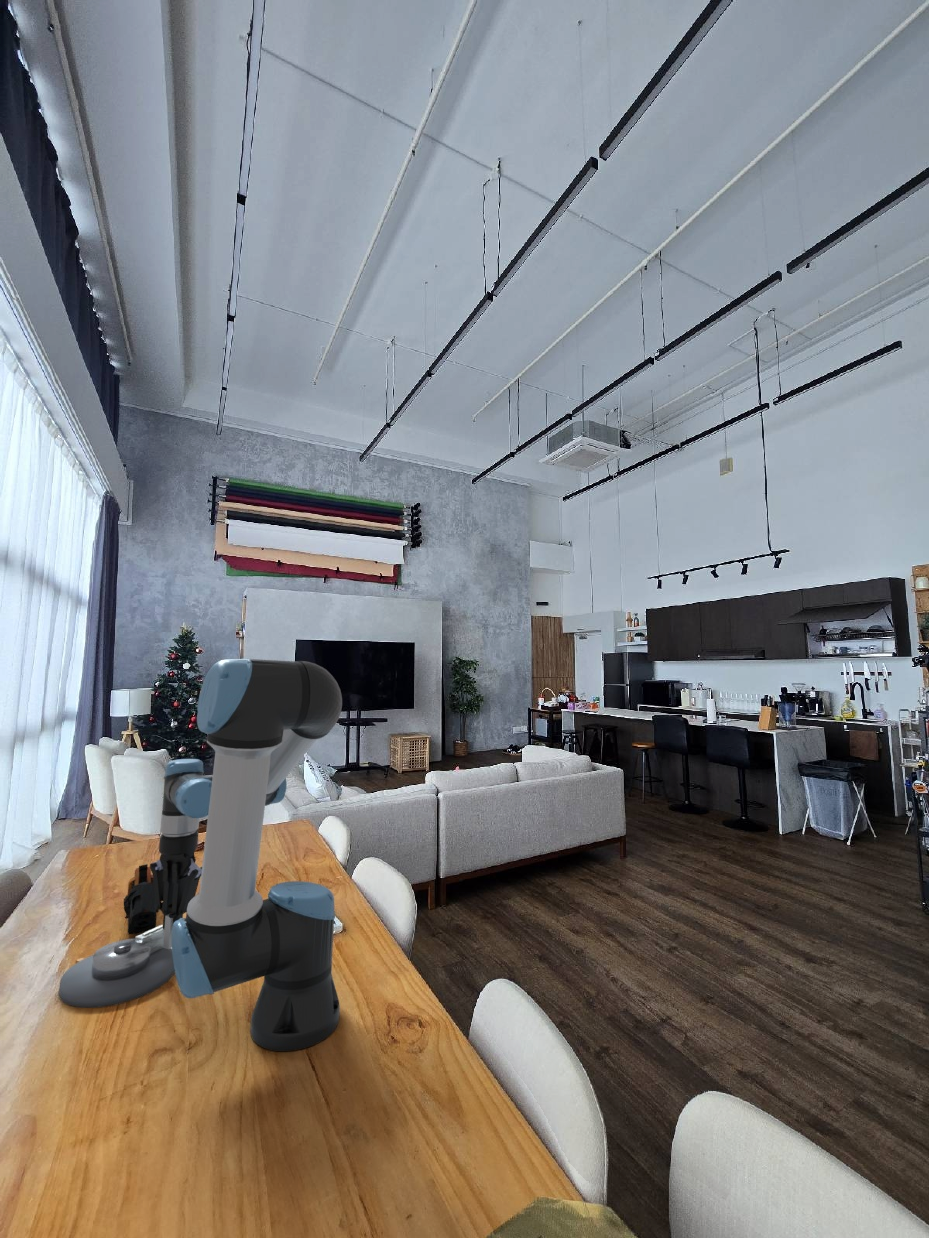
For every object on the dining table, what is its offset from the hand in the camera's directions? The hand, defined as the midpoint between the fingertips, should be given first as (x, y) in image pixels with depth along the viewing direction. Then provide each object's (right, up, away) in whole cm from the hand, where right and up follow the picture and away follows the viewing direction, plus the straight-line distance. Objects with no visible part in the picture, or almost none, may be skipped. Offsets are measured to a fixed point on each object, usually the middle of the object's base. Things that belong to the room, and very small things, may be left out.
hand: (170, 945), depth 117 cm
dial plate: (-7, -3, -5) cm, 9 cm away
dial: (-6, -1, -4) cm, 7 cm away
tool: (-17, -5, +18) cm, 26 cm away
